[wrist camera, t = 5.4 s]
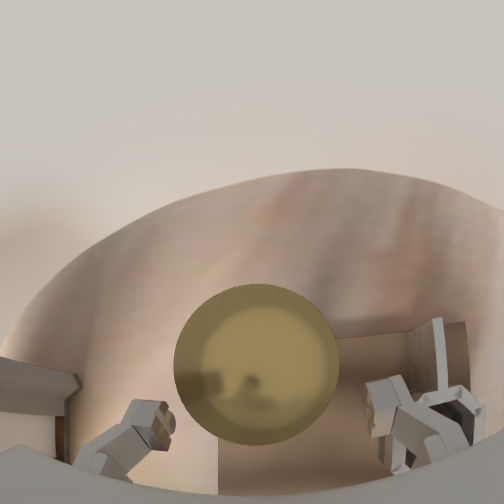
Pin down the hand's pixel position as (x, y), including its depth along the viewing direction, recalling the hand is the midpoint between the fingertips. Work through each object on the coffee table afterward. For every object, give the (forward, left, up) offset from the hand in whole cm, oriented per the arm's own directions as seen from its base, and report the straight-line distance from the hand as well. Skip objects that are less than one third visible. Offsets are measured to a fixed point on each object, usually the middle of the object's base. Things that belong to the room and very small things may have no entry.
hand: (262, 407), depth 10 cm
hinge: (-4, -10, -9) cm, 14 cm away
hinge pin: (+1, 0, -9) cm, 9 cm away
